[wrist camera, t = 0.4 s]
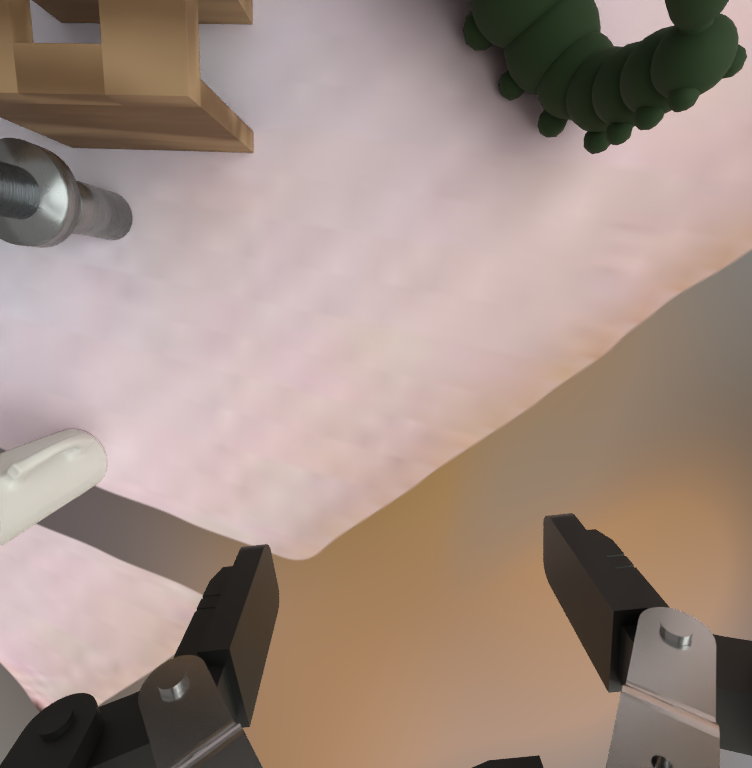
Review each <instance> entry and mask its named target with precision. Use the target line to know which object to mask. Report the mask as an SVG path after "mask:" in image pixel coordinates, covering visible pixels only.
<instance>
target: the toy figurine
mask: <svg viewBox="0 0 752 768" xmlns="http://www.w3.org/2000/svg"><path fill="white" fill-rule="evenodd" d="M728 1H729V0H665V3H666V7H667V10H668V13H669V17H670V19H671V21H672V22H673V24H674V26H671V27H667V28H663V29H660V30H658V31H656V32H654V33H653V34H651V35H649V36H648V37H646V38H644V39H643V40H642V41H640V42H635V43H632V44H628V45H626V46H624V47H618V46H613V44H612V42H611V41H610V40H609V39H608V38H607V37H606V36H605V35H603V34H602V33H600V28H601V27H600V19H599V12H598V8H597V6H596V4H595V2H594V0H470V4H471V10H472V11H471V12H470V13H469V14H468V15H467V16H466V19H465V23H464V27H463V33H464V37H465V41H466V44H468V45H469V46H470V47H471V48H472V49H474V50H486V49H487V48H488V47H490V46H491V45H492V44H494V45H495V46H497V47H500V48H503V49H504V52H505V62H506V65H507V68H508V71H507V72H506V73H504V74H503V75H502V77H501V79H500V81H499V84H498V85H499V89H500V93H501V95H502V96H503V97H505V98H506V99H508V100H513V99H516V98H518V97H519V96H520V95H521V94H522V93H523V92H524V91H527V92H528V93H530V94H535V95H538V99H539V101H540V103H541V105H542V106H543V108H544V109H545V110H544V111H543V112H542V113H541V115H540V117H539V121H538V125H537V126H538V129H539V132H540V133H541V134H542V135H544V136H545V137H556V136H557V135H558V134H560V133H561V132H562V131H563V130H564V127H565V125H566V123H567V121H568V120H572V121H573V122H574V123H575V124H577V125H578V126H579V127H580V128H582V129H583V130H585V131H588V132H587V133H586V134H585V137H584V148H585V149H586V150H587V151H588V152H590V153H591V154H595V153H600V152H602V151H604V150H606V149H607V148H608V147H609V145H610V144H612V145H619V144H621V143H624V142H625V141H626V140H627V139H629V138H630V136H631V132H632V128H633V127H634V126H636V127H637V128H638V129H640V130H650V129H651V128H653V127H654V126H656V125H657V124H658V123H659V122H660V121H661V119H662V118H663V116H664V113H667V112H669V111H671V110H673V111H674V112H681V111H684V110H687V109H689V108H690V107H692V106H693V105H694V104H695V102H696V100H697V99H698V97H699V95H701V94H702V93H704V92H706V91H707V90H709V89H711V88H712V87H714V86H715V85H716V84H717V83H718V82H719V81H720V80H721V79H722V78H728V77H732V76H733V75H735V74H736V73H737V72H738V71H740V70H741V69H742V67H743V65H744V62H745V60H746V58H747V55H746V50H745V48H743V47H742V46H740V45H738V33H737V28H736V27H735V25H734V23H733V21H732V20H731V19H729V18H728V17H727V16H725V15H723V14H720V12H721V11H722V10H723V9H724V7H725V6H726V4H727V2H728Z"/></svg>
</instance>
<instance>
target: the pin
mask: <svg viewBox="0 0 752 768" xmlns="http://www.w3.org/2000/svg"><path fill="white" fill-rule="evenodd" d="M131 225H132V213H131V209H130V207H129V205H128V203H127V202H126V201H125V200H124V199H123V198H122V197H121V196H119V195H118V194H115V193H113V192H109V191H106V190H103V189H100V188H97V187H94V186H91V185H88V184H85V183H82V182H79V181H76V179H75V177H74V175H73V173H72V172H71V170H70V169H69V167H68V166H67V165H66V164H65V162H64V161H63V160H62V159H60V158H59V157H58V156H57V155H56V154H54V153H53V152H51V151H49V150H47V149H45V148H42V147H40V146H37V145H34V144H32V143H29V142H27V141H24V140H21V139H16V138H3V139H0V239H2V240H4V241H6V242H9V243H12V244H15V245H23V246H31V247H40V248H43V247H51V246H54V245H57V244H59V243H61V242H63V241H64V240H65V239H67V238H68V237H69V236H70V235H71V233H74V234H80V235H85V236H91V237H97V238H103V239H109V240H117V239H120V238H122V237H124V236H125V235H126V234H127V233H128V232H129V230H130V228H131Z"/></svg>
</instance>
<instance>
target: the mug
mask: <svg viewBox="0 0 752 768" xmlns="http://www.w3.org/2000/svg"><path fill="white" fill-rule="evenodd" d="M106 470H107V456H106V453H105V450H104V448H103V447H102V445H101V444H100V442H99V441H98V440H97V439H96V438H95V437H94V436H92V435H91V434H89V433H87V432H85V431H82V430H78V429H67V430H63V431H60V432H58V433H55V434H52V435H49V436H47V437H44V438H41V439H38V440H35V441H33V442H30V443H27V444H25V445H22V446H19V447H16V448H14V449H11V450H8V451H6V452H3V453H0V546H2V545H3V544H5V543H6V542H8V541H10V540H11V539H13V538H14V537H16V536H17V535H19V534H21V533H22V532H24V531H25V530H27V529H28V528H30V527H31V526H33V525H34V524H36V523H37V522H39V521H41V520H42V519H43V518H45V517H47V516H48V515H50V514H51V513H53V512H54V511H56V510H58V509H59V508H60V507H62V506H64V505H65V504H67V503H68V502H70V501H72V500H73V499H75V498H76V497H78V496H79V495H81V494H82V493H84V492H86V491H87V490H88V489H90V488H91V487H93V486H94V485H96V484H97V483H98V482H100V481H101V479H102V478H103V477H104V475H105V473H106Z"/></svg>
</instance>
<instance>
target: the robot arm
mask: <svg viewBox="0 0 752 768" xmlns="http://www.w3.org/2000/svg"><path fill="white" fill-rule="evenodd" d="M543 537H544V538H543V540H544V541H543V549H544V550H543V555H544V556H543V562H544V569H545V573H546V577H547V579H548V582H549V584H550V586H551V588H552V590H553V592H554V594H555V595H556V597H557V599H558V601H559V603H560V605H561V606H562V608H563V610H564V612H565V614H566V616H567V617H568V619H569V621H570V623H571V625H572V626H573V628H574V630H575V632H576V634H577V635H578V638H579V639H580V641H581V643H582V645H583V647H584V649H585V650H586V652H587V654H588V656H589V658H590V659H591V661H592V663H593V665H594V667H595V669H596V670H597V672H598V674H599V676H600V678H601V680H602V681H603V683H604V685H605V687H606V689H607V690H608V692H619V691H621V696H620V701H619V706H618V710H617V716H616V720H615V725H614V730H613V735H612V740H611V745H610V750H609V754H608V760H607V764H606V768H720V748H721V749H725V750H729V751H734V752H738V753H743V754H747V755H751V756H752V641H749V640H742V639H736V638H730V637H723V636H719V635H714V634H712V633H711V631H710V630H709V629H708V628H707V627H706V626H705V625H704V624H703V623H702V622H700V621H699V620H698V619H696V618H694V617H693V616H691V615H689V614H687V613H685V612H682V611H680V610H676V609H673V608H670V607H669V606H668V605H667V604H666V603H665V601H664V600H663V599H662V598H661V597H660V595H659V594H658V593H657V592H656V591H655V590H654V588H653V587H652V586H651V585H650V584H649V582H647V580H646V579H645V578H644V577H643V575H642V574H641V573H640V572H639V571H638V570H637V568H634V566H633V564H632V562H631V561H630V560H629V559H628V558H627V557H626V556H624V553H623V552H622V551H621V549H620V548H619V547H618V546H617V545H616V544H615V543H614V541H613V540H612V539H610V538H608V537H607V536H605V535H604V534H602V533H600V532H599V531H597V530H595V529H594V530H586V529H585V528H584V526H583V525H582V524H581V522H580V521H579V520H578V519H577V517H576V516H575V515H574V514H572V513H569V514H560V515H551V516H545V518H544V536H543ZM278 608H279V589H278V583H277V578H276V574H275V569H274V564H273V559H272V554H271V550H270V547H269V545H268V544H265V545H256V546H246V547H241V549H240V551H239V553H238V555H237V557H236V560H235V562H234V565H233V566H230V567H223V568H222V569H221V570H220V571H219V572H218V573H217V574H216V575H215V576H214V577H213V578H212V579H211V580H210V582H209V584H208V586H207V588H206V590H205V592H204V594H203V599H201V601H200V603H199V605H198V607H197V612H195V613H194V616H193V618H192V620H191V622H190V624H189V626H188V628H187V630H186V632H185V635H184V637H183V639H182V641H181V643H180V645H179V647H178V649H177V652H176V654H175V656H174V658H173V659H170V660H168V661H167V662H165V663H163V664H162V665H160V666H159V667H158V668H156V669H155V670H154V671H153V672H152V673H151V674H150V675H149V676H148V678H147V679H146V680H145V682H144V683H143V685H142V687H141V689H140V691H138V692H136V693H134V694H132V695H129V696H127V697H124V698H121V699H119V700H116V701H114V702H111V703H108V704H106V705H103V706H101V707H98V705H97V702H96V700H95V698H94V697H93V696H92V695H90V694H86V693H77V694H72V695H69V696H66V697H64V698H62V699H59V700H57V701H56V702H54V703H52V704H51V705H49V706H48V707H46V708H45V709H44V710H42V711H41V712H40V713H39V714H38V715H37V716H35V717H34V718H33V719H32V720H31V721H30V723H29V724H28V725H27V726H26V728H25V729H24V731H23V732H22V733H21V735H20V736H19V738H18V739H17V741H16V742H15V744H14V745H13V747H12V748H11V750H10V751H9V753H8V755H7V756H6V757H5V759H4V760H3V762H2V763H1V765H0V768H263V767H262V766H261V763H260V762H259V760H258V758H257V756H256V754H255V752H254V750H253V748H252V746H251V744H250V742H249V740H248V738H247V736H246V734H245V732H244V730H243V727H250V724H251V719H252V715H253V711H254V707H255V703H256V699H257V695H258V690H259V687H260V683H261V678H262V674H263V670H264V666H265V662H266V658H267V654H268V650H269V646H270V642H271V638H272V634H273V630H274V625H275V621H276V617H277V613H278ZM473 768H543V765H542V762H541V759H540V756H529V757H519V758H509V759H499V760H489V761H487V762H484V763H482V764H480V765H477V766H475V767H473Z"/></svg>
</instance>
